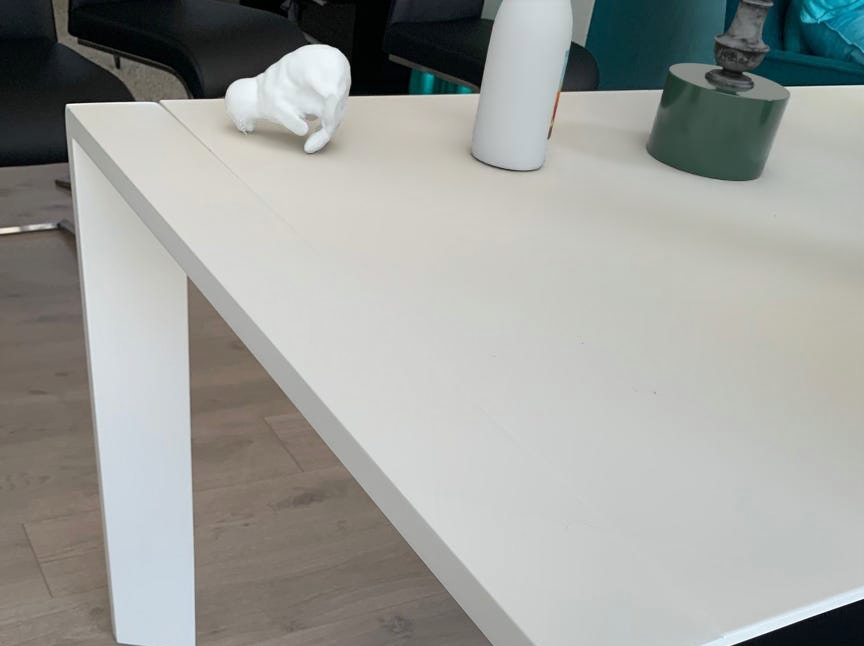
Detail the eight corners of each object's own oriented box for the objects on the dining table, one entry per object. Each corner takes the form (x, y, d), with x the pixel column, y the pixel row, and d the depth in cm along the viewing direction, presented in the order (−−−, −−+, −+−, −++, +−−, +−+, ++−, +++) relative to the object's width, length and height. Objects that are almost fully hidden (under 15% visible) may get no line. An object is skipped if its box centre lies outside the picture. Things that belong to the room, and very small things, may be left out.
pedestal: (772, 162, 116) (800, 86, 111) (748, 190, 107) (778, 107, 102) (664, 132, 120) (686, 56, 114) (632, 156, 111) (655, 75, 105)
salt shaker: (766, 91, 107) (813, -44, 99) (715, 85, 105) (759, -52, 97) (742, 75, 111) (786, -56, 103) (693, 69, 110) (734, -64, 102)
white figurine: (344, 56, 90) (212, 45, 91) (342, 158, 96) (218, 147, 97) (356, 41, 95) (231, 31, 96) (354, 139, 101) (236, 129, 102)
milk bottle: (534, 178, 100) (589, -64, 87) (460, 160, 101) (503, -82, 88) (550, 158, 106) (603, -73, 93) (479, 141, 107) (522, -89, 94)
